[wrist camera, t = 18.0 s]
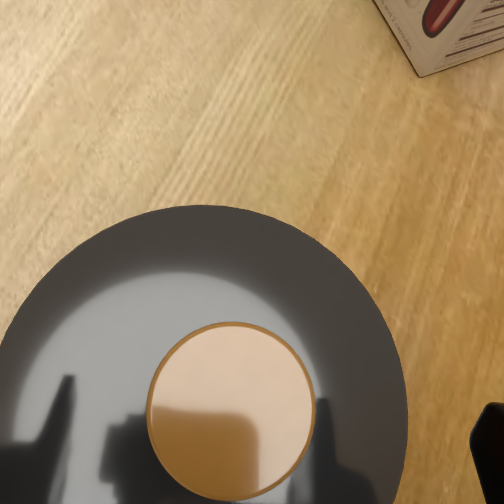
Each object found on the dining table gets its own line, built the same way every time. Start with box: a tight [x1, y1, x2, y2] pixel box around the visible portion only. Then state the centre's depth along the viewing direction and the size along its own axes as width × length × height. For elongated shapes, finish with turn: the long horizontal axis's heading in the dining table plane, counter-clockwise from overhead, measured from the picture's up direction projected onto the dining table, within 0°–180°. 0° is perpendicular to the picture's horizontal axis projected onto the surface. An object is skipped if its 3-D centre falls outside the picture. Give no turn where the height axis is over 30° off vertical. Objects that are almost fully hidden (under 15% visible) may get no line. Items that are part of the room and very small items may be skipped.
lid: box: [0, 205, 408, 504], centre depth 11 cm, size 11×11×7 cm
